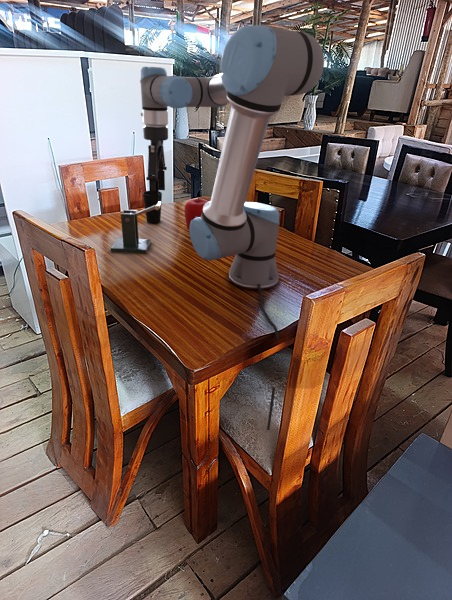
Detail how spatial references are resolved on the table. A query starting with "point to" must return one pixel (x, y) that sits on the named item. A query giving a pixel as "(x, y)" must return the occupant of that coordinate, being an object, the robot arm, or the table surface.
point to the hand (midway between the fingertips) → (157, 195)
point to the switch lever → (148, 209)
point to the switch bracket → (130, 236)
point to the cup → (152, 215)
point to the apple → (193, 210)
